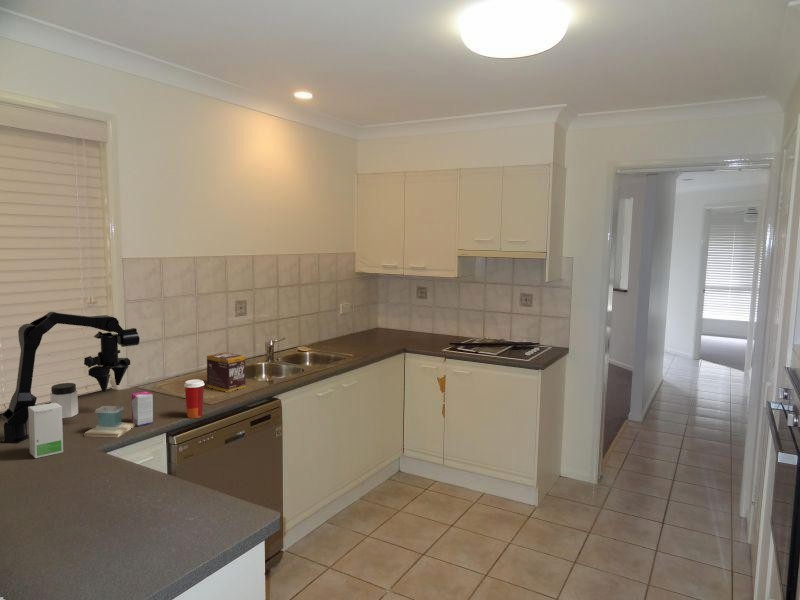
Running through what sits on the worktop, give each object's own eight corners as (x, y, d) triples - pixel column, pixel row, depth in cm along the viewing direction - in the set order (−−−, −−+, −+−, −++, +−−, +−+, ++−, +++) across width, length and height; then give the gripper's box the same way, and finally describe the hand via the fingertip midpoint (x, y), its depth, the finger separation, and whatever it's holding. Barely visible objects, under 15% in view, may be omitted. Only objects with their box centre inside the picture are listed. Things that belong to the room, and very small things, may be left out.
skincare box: (34, 459, 170) (32, 411, 169) (29, 453, 175) (26, 406, 173) (64, 452, 177) (62, 405, 175) (58, 446, 181) (56, 401, 179)
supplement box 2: (228, 393, 247) (228, 359, 245) (206, 387, 255) (206, 355, 253) (246, 388, 255) (245, 355, 254) (224, 383, 264) (224, 351, 262)
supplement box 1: (153, 423, 205) (152, 393, 204) (137, 426, 201) (136, 397, 200) (147, 419, 209) (146, 390, 208) (131, 423, 205) (130, 393, 204)
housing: (124, 425, 198) (123, 406, 198) (116, 430, 193) (116, 410, 193) (104, 424, 199) (103, 405, 198) (95, 429, 194) (95, 410, 193)
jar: (47, 416, 211) (46, 386, 209) (69, 410, 218) (67, 381, 216) (60, 420, 206) (59, 389, 205) (82, 414, 213) (80, 384, 212)
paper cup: (200, 411, 220) (199, 378, 218) (208, 416, 214) (207, 381, 213) (180, 415, 214) (180, 381, 213) (189, 420, 209) (188, 385, 207)
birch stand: (117, 437, 190) (117, 433, 190) (84, 436, 191) (84, 432, 190) (135, 425, 202) (135, 422, 202) (104, 424, 202) (104, 421, 202)
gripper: (102, 343, 216) (104, 381, 218) (73, 353, 197) (75, 394, 199) (130, 344, 216) (131, 382, 217) (103, 353, 197) (104, 395, 199)
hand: (111, 388), depth 208 cm, fingers open, 9 cm apart
